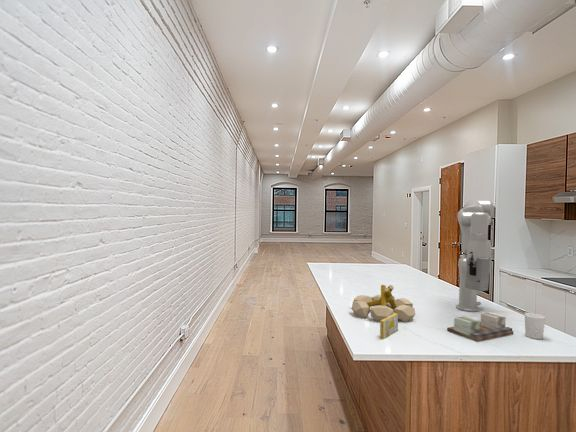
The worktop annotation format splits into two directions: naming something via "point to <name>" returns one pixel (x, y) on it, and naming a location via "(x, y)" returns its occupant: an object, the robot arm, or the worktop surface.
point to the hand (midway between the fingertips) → (477, 274)
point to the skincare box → (479, 275)
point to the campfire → (383, 306)
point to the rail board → (481, 327)
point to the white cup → (534, 325)
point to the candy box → (388, 326)
